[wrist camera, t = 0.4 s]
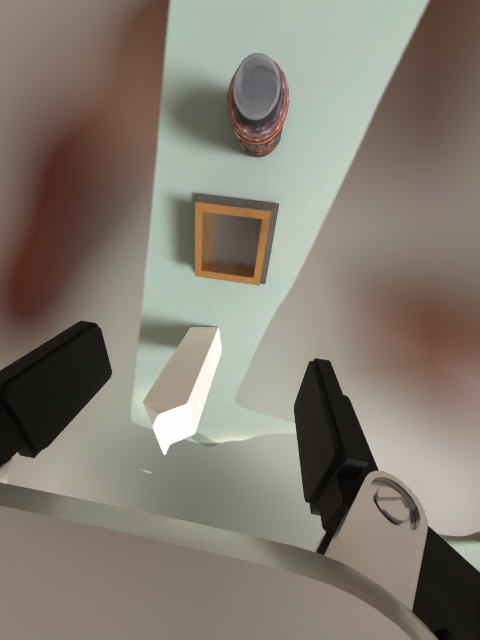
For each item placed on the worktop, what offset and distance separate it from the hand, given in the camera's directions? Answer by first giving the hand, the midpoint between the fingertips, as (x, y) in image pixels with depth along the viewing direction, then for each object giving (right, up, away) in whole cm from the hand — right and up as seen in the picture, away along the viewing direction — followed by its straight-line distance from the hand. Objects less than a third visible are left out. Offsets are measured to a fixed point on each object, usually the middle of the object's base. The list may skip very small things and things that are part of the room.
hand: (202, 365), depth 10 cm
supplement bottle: (+4, +27, +18) cm, 32 cm away
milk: (-5, -2, +35) cm, 35 cm away
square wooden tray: (+1, +15, +25) cm, 29 cm away
